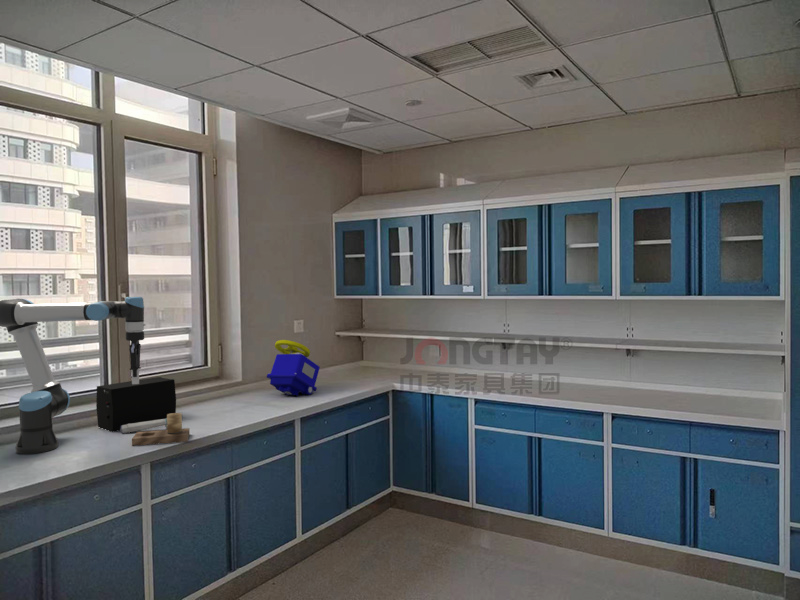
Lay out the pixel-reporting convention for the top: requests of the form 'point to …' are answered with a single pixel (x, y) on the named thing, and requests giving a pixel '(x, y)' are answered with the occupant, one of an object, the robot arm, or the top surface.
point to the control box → (293, 369)
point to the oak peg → (174, 423)
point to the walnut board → (159, 437)
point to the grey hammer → (142, 425)
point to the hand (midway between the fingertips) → (135, 383)
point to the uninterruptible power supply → (135, 402)
